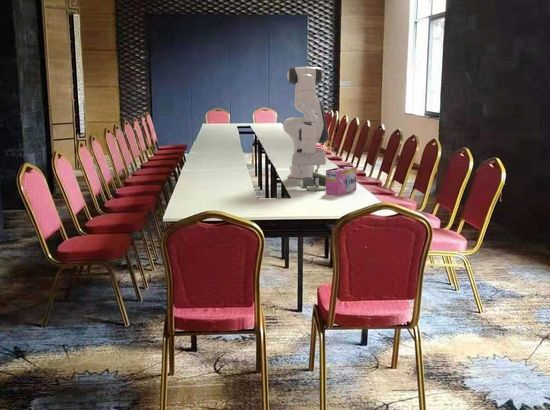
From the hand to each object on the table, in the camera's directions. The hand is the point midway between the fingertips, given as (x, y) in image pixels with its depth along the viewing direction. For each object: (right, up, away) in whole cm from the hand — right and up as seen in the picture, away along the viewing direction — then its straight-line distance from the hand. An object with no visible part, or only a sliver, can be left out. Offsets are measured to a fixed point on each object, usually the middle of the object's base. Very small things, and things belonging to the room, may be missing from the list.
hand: (308, 172), depth 357 cm
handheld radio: (+7, -7, +10) cm, 14 cm away
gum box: (+18, -12, -15) cm, 26 cm away
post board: (+7, -10, -8) cm, 15 cm away
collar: (0, -8, +2) cm, 8 cm away
